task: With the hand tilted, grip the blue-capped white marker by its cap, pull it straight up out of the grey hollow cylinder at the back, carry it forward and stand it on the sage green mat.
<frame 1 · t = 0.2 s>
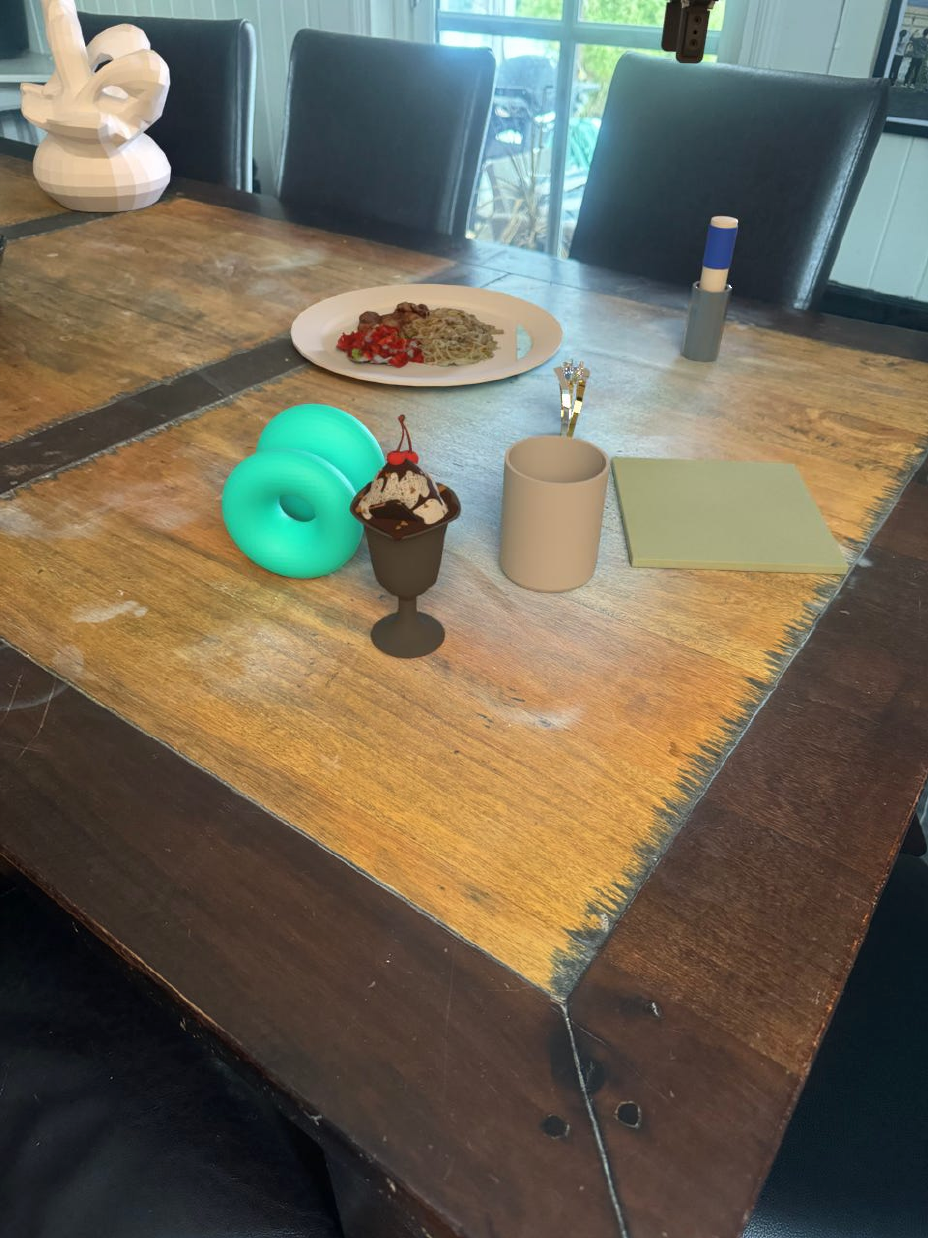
hand: (680, 56, 80), 29 cm above the table, tool pointing down, fingers open, 8 cm apart
sundae: (407, 637, 61), on the table
plated food: (427, 345, 102), on the table
donuts: (313, 550, 69), on the table
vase: (113, 200, 149), on the table
marker: (699, 354, 100), point 1 cm above the table, touching grey hollow cylinder
ring: (563, 449, 83), on the table
mat: (718, 515, 74), on the table
cup: (550, 558, 69), on the table
grey hollow cylinder: (698, 359, 100), on the table
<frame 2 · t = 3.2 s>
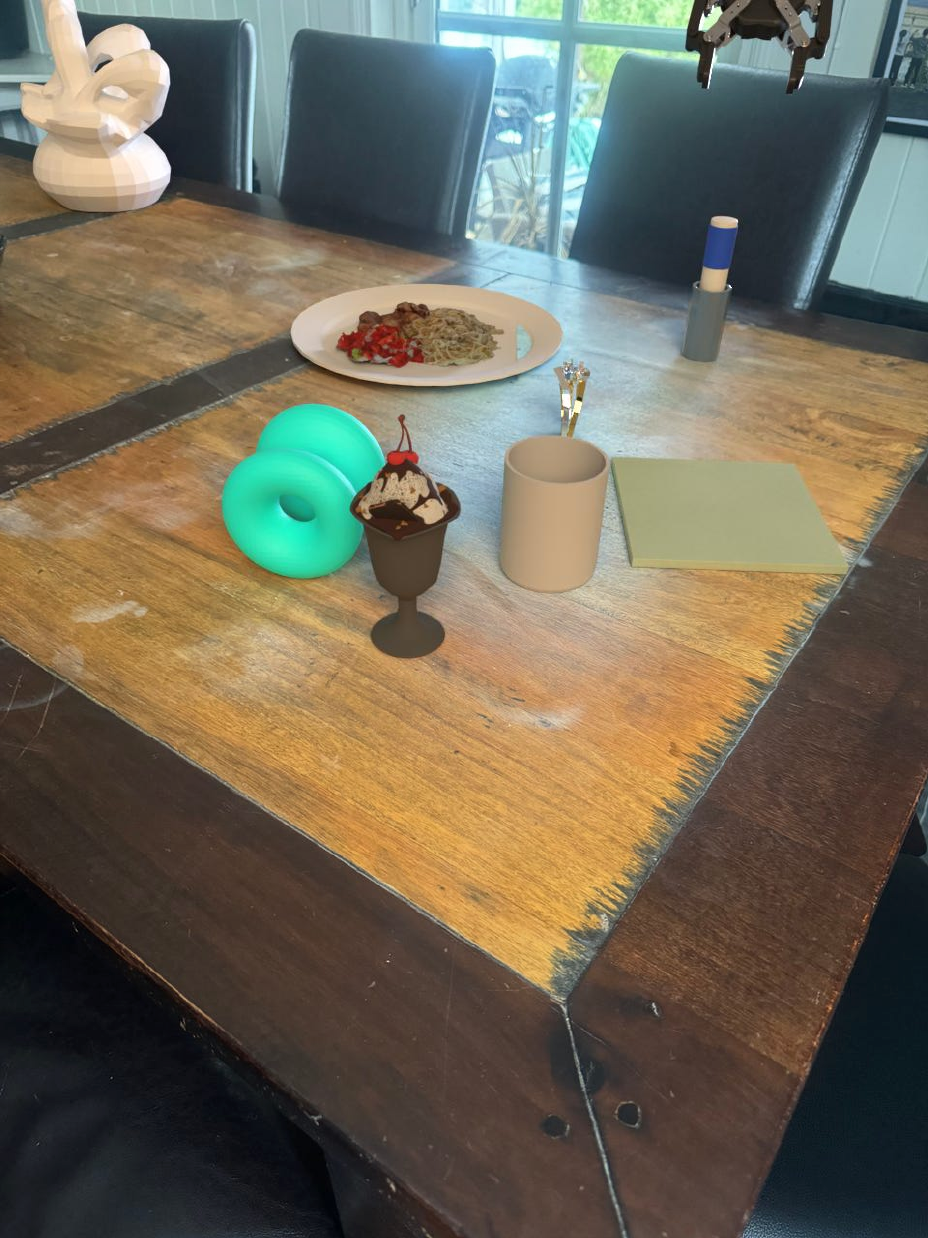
hand: (747, 86, 94), 25 cm above the table, tool tilted 45°, fingers open, 8 cm apart
nothing on the table moved.
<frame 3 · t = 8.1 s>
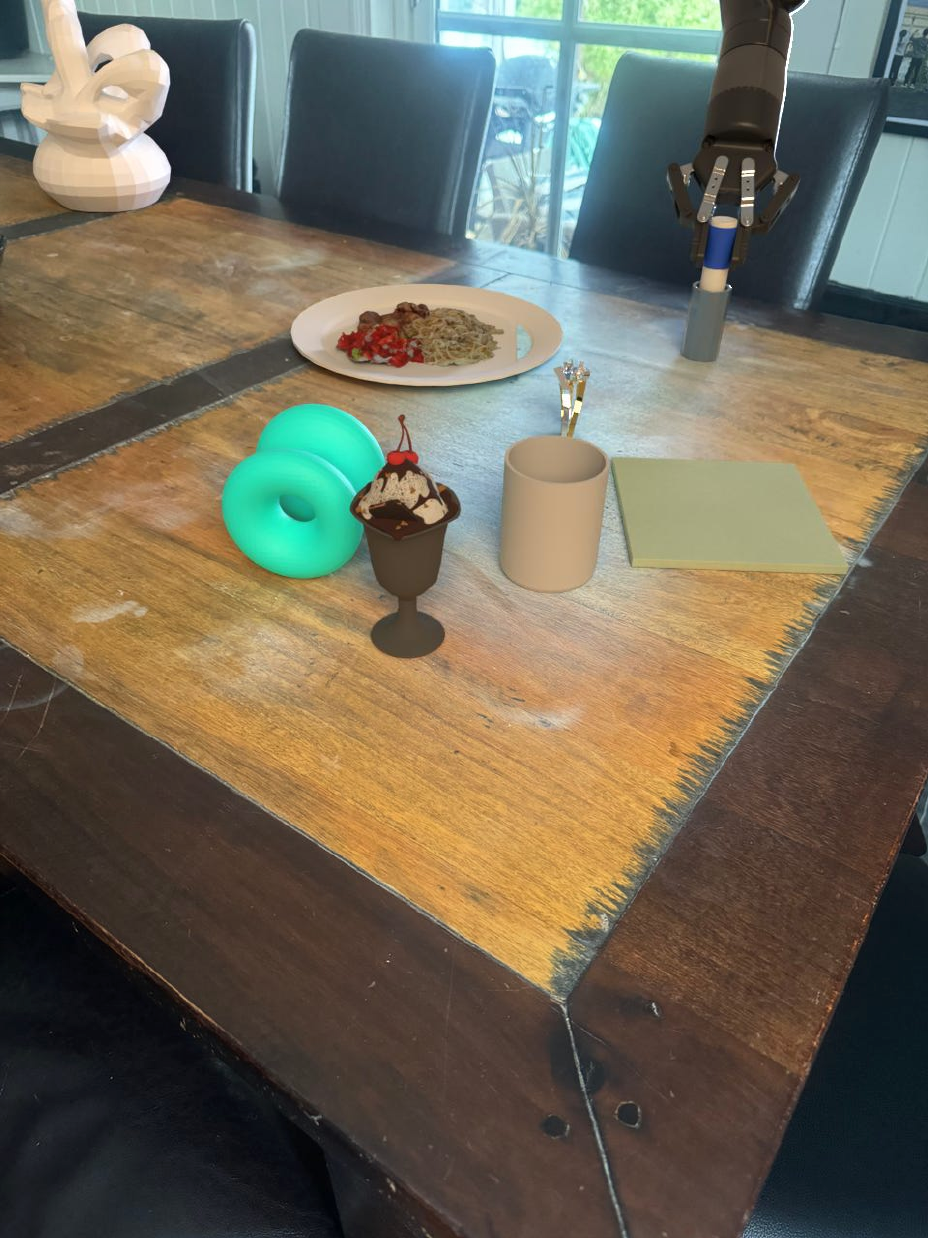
hand: (716, 264, 92), 11 cm above the table, tool tilted 45°, fingers closed on marker, 3 cm apart
marker: (699, 354, 100), point 1 cm above the table, touching grey hollow cylinder, gripper
everything else where it was.
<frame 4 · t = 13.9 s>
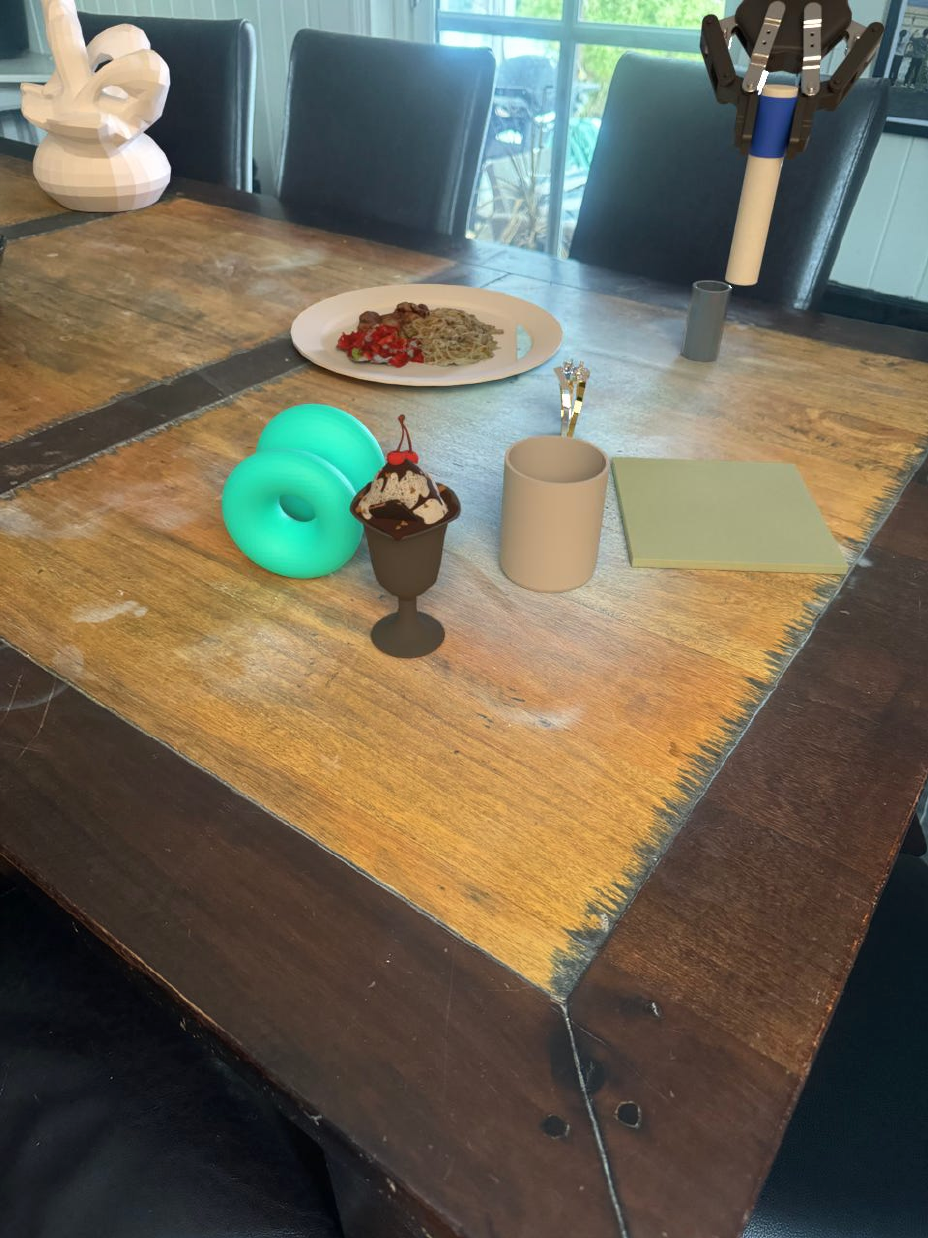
hand: (768, 149, 68), 25 cm above the table, tool tilted 45°, fingers closed on marker, 2 cm apart
marker: (740, 280, 76), point 15 cm above the table, touching gripper
everything else where it was.
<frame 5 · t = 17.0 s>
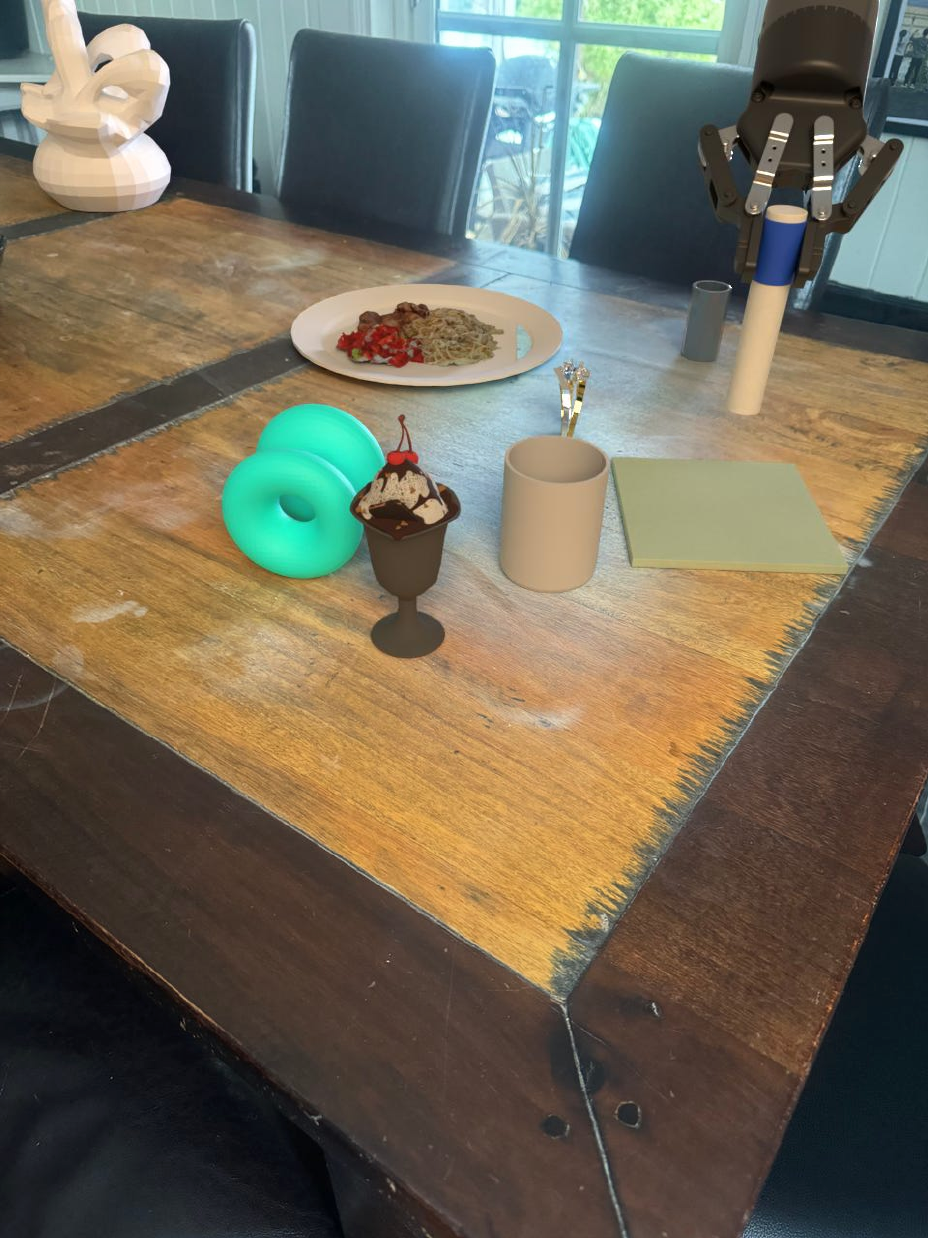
hand: (774, 278, 61), 20 cm above the table, tool tilted 45°, fingers closed on marker, 2 cm apart
marker: (742, 408, 68), point 9 cm above the table, touching gripper
everything else where it was.
when the fingers open (11 cm above the table, at t = 19.6 s): marker stays where it is, resting on mat.
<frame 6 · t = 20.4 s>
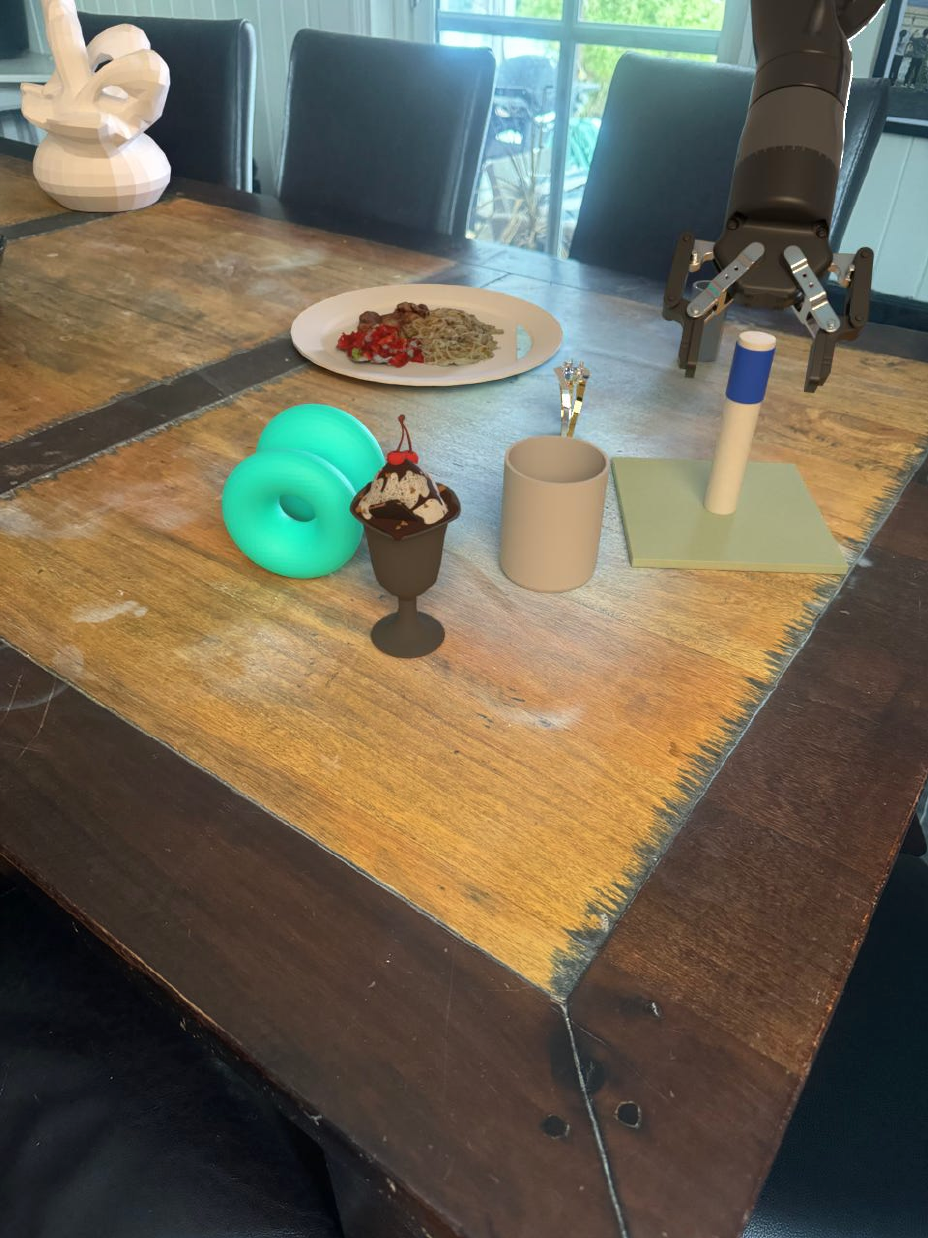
hand: (750, 381, 66), 12 cm above the table, tool tilted 45°, fingers open, 8 cm apart
marker: (719, 506, 74), point 1 cm above the table, touching mat
everything else where it was.
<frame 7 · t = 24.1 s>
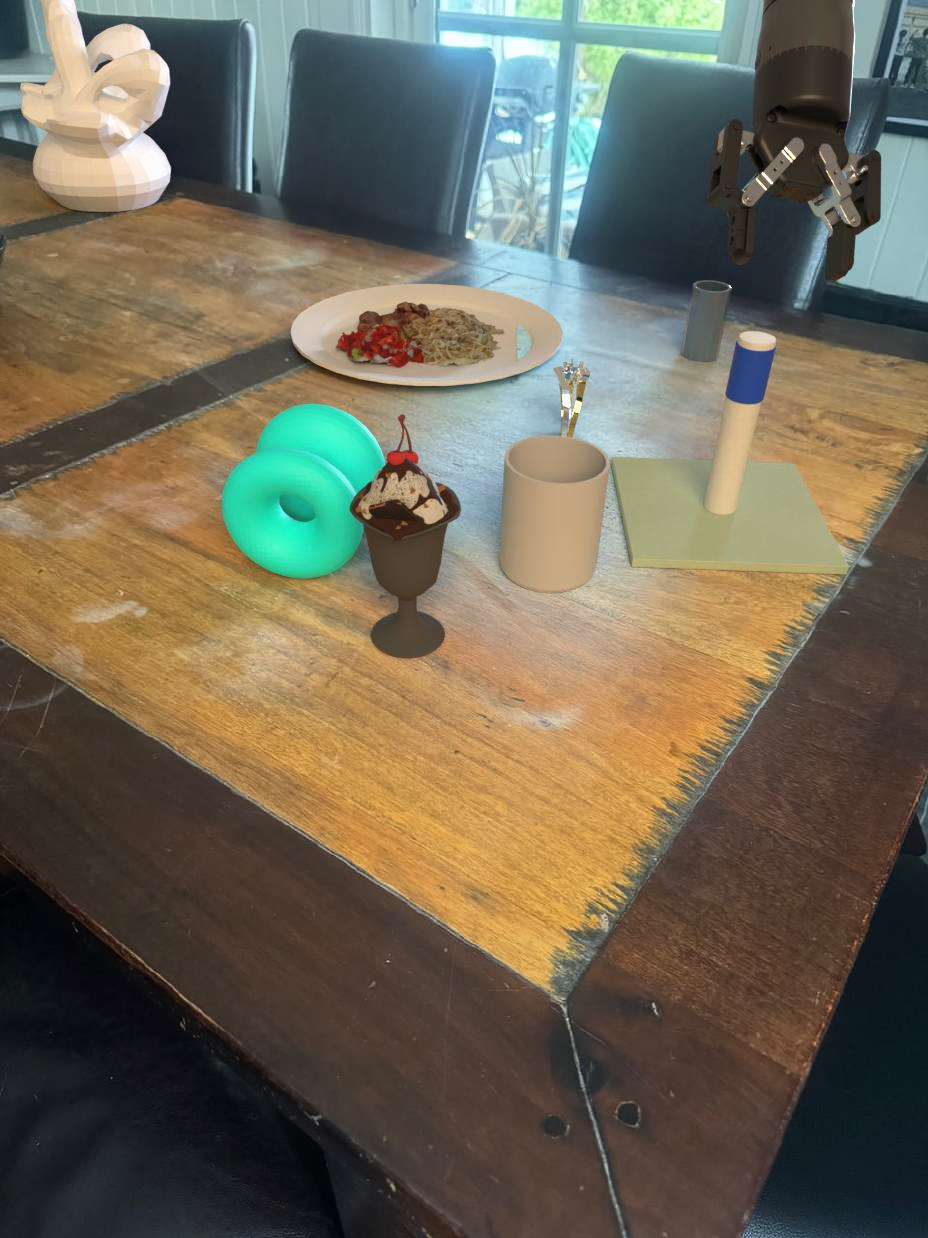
hand: (790, 269, 74), 16 cm above the table, tool tilted 40°, fingers open, 8 cm apart
nothing on the table moved.
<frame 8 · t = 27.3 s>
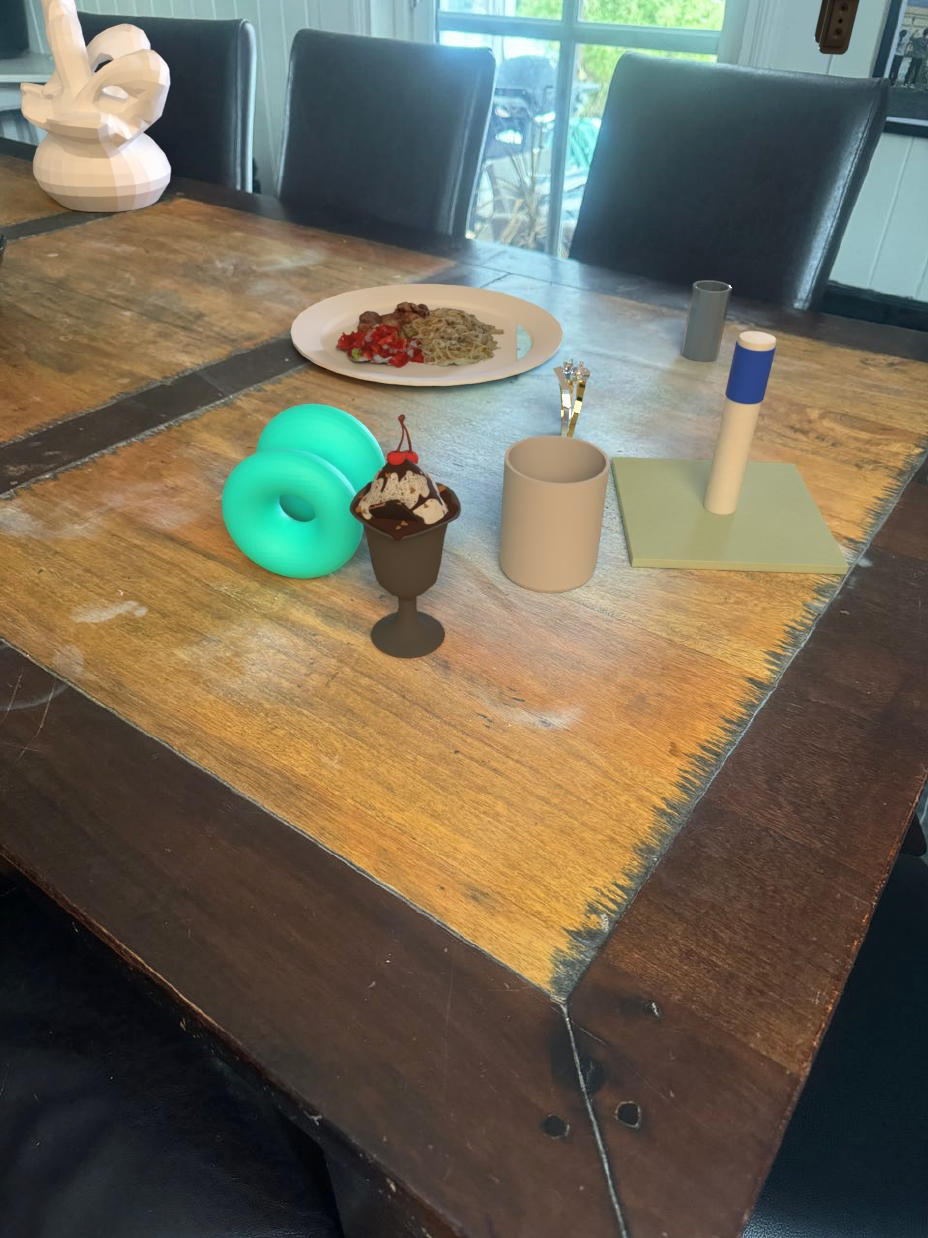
hand: (828, 48, 75), 30 cm above the table, tool pointing down, fingers open, 8 cm apart
nothing on the table moved.
at the end: marker inside the target area on the mat (0.1 cm from its centre), point 0.8 cm above the mat's base; the gripper is holding nothing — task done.
